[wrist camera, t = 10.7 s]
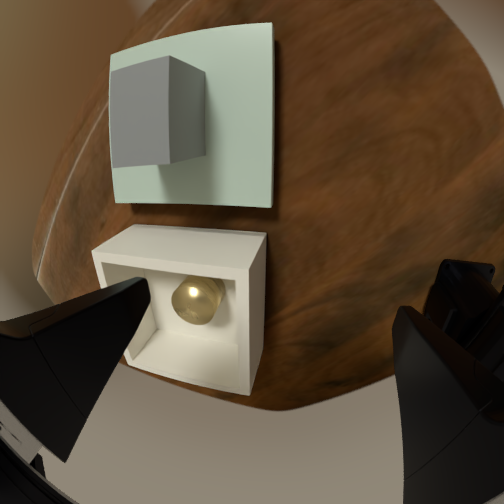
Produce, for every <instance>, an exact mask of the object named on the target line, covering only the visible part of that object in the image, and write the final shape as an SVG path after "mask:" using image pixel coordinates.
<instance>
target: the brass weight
mask: <svg viewBox="0 0 504 504" xmlns="http://www.w3.org/2000/svg"><path fill="white" fill-rule="evenodd" d="M225 292H226V289H225V284H224V282H223V280H222V279H221V278H213V277H205V276H197V275H189V274H188V276H187V277H186V278H185V279H184V280H183V282H182V283H181V284H180V285H179V286H178V288H177V289H176V290H175V291H174V292H173V294H172V297H171V303H172V306H173V309H174V311H175V312H176V313H177V315H178V316H179V317H180V318H182V319H183V320H184V321H186V322H188V323H191V324H194V325H204V324H207V323H208V322H210V321H211V320H212V318H213V316H214V314H215V313H216V311H217V309H218V307H219V305H220V304H221V302H222V300H223V298H224V296H225Z"/></svg>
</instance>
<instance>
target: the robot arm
mask: <svg viewBox="0 0 504 504" xmlns="http://www.w3.org/2000/svg"><path fill="white" fill-rule="evenodd" d="M446 264H448V266H447V267H445V265H446ZM490 269H491V271H490ZM494 273H495V267H494V266H493V265H492V264H487V263H478V262H469V261H460V260H451V259H445V260H443V261H442V263H441V266H440V269H439V272H438V276H437V279H436V282H435V283H434V285H433V288H432V291H431V294H430V297H429V300H428V303H427V305H426V311H425V314H424V316H423V315H422V314H421V313H419V312H418V311H417V310H415V309H414V308H413V307H411V306H400V307H399V309H398V311H397V314H396V317H395V320H394V323H393V326H392V338H393V352H394V369H395V376H396V383H397V390H398V398H399V405H400V415H401V426H402V440H403V460H404V480H405V481H404V491H403V504H504V285H503V287H502V288H503V289H502V291H501V292H500V294H499V293H498V291H497V290H496V289H495V288H494V287H493V285H492V284H491V281H492V278H493V275H494ZM150 302H151V294H150V290H149V285H148V281H147V279H146V278H143V277H134V278H131V279H128V280H125V281H122V282H119V283H116V284H113V285H111V286H108V287H105V288H102V289H99V290H96V291H94V292H91V293H88V294H85V295H82V296H79V297H77V298H74V299H71V300H68V301H65V302H63V303H61V304H57V305H54V306H52V307H49V308H46V309H43V310H40V311H37V312H34V313H31V314H27V315H24V316H20V317H17V318H14V319H10V320H6V321H0V504H79V503H77V502H76V501H74V500H73V499H71V498H70V497H69V496H67V495H66V494H65V493H63V492H62V491H61V490H59V489H58V488H57V487H55V486H54V485H53V484H52V483H50V482H49V481H48V480H47V479H46V477H45V471H44V466H43V460H42V457H41V455H39V454H38V451H39V450H40V449H41V447H42V446H43V447H44V448H46V449H47V450H48V451H49V452H51V453H52V454H53V455H54V456H56V457H57V458H59V459H60V460H61V461H62V462H64V463H65V462H66V461H67V459H68V457H69V455H70V453H71V451H72V449H73V447H74V445H75V443H76V441H77V439H78V436H79V434H80V433H81V430H82V429H83V427H84V425H85V423H86V421H87V418H88V416H89V414H90V412H91V411H92V409H93V407H94V405H95V403H96V401H97V400H98V398H99V396H100V394H101V392H102V390H103V389H104V386H105V385H106V383H107V381H108V380H109V378H110V376H111V374H112V373H113V371H114V369H115V367H116V366H117V364H118V362H119V360H120V359H121V357H122V355H123V354H124V352H125V350H126V348H127V347H128V345H129V343H130V342H131V340H132V338H133V337H134V335H135V333H136V331H137V329H138V327H139V325H140V323H141V321H142V319H143V317H144V315H145V312H146V310H147V308H148V306H149V304H150Z"/></svg>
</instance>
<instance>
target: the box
mask: <svg viewBox="0 0 504 504" xmlns="http://www.w3.org/2000/svg"><path fill="white" fill-rule="evenodd" d="M266 234H267V233H263V232H250V231H236V230H222V229H207V228H192V227H176V226H159V225H140V224H134V225H132V226H131V227H129V228H127V229H126V230H124V231H122V232H121V233H119V234H117V235H116V236H114V237H113V238H111V239H109V240H108V241H106V242H105V243H103V244H101V245H100V246H98V247H97V248H95V249H94V250H92V255H93V259H94V263H95V267H96V271H97V275H98V279H99V282H100V286H101V289H102V288H105V287H108V286H111V285H113V284H116V283H119V282H122V281H125V280H128V279H131V278H134V277H143V278H146V279H147V281H148V285H149V290H150V294H151V302H150V304H149V306H148V308H147V310H146V312H145V315H144V317H143V319H142V321H141V323H140V325H139V327H138V329H137V331H136V333H135V335H134V337H133V338H132V340H131V342H130V343H129V345H128V347H127V348H126V350H125V352H124V355H125V358H126V360H127V363H128V365H131V366H134V367H137V368H140V369H143V370H146V371H149V372H152V373H155V374H159V375H162V376H165V377H169V378H172V379H176V380H180V381H183V382H187V383H191V384H195V385H199V386H203V387H208V388H212V389H217V390H221V391H226V392H231V393H236V394H242V395H247V396H250V393H251V390H252V387H253V383H254V380H255V376H256V373H257V369H258V366H259V362H260V358H261V355H262V351H263V340H264V311H265V276H266ZM188 274H189V275H197V276H205V277H213V278H221V279H222V280H223V282H224V284H225V289H226V292H225V296H224V298H223V300H222V302H221V304H220V305H219V307H218V309H217V311H216V313H215V314H214V316H213V318H212V320H211V321H210V322H208V323H207V324H204V325H194V324H191V323H188V322H186V321H184V320H183V319H182V318H180V317H179V316H178V315H177V313H176V312H175V311H174V309H173V306H172V303H171V297H172V294H173V292H174V291H175V290H176V289H177V288H178V286H179V285H180V284H181V283H182V282H183V280H184V279H185V278H186V277H187V276H188Z"/></svg>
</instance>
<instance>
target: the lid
mask: <svg viewBox="0 0 504 504" xmlns="http://www.w3.org/2000/svg"><path fill="white" fill-rule="evenodd" d="M274 117H275V58H274V26H273V24H272V23H256V24H243V25H233V26H225V27H218V28H211V29H205V30H199V31H194V32H189V33H184V34H179V35H175V36H171V37H167V38H163V39H159V40H155V41H152V42H148V43H145V44H141V45H138V46H135V47H132V48H129V49H126V50H123V51H120V52H118V53H115V54H112V55H111V61H110V79H109V134H110V153H111V166H112V177H113V187H114V195H115V203H173V204H206V205H230V206H249V207H265V208H271V207H272V205H273V186H274Z"/></svg>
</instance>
